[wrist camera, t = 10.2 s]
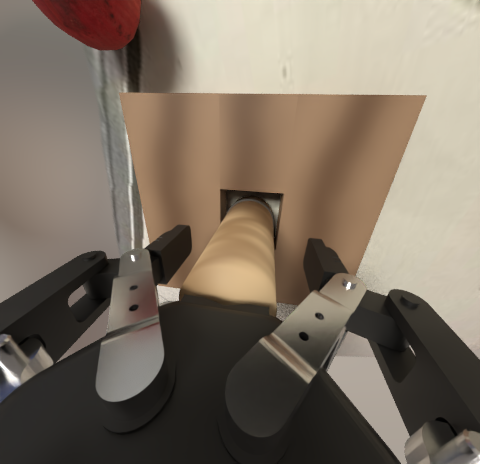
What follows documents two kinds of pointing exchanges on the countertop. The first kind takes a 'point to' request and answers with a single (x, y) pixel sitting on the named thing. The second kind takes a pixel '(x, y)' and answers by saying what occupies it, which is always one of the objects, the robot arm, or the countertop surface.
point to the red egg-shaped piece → (95, 20)
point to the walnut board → (269, 167)
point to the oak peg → (238, 259)
